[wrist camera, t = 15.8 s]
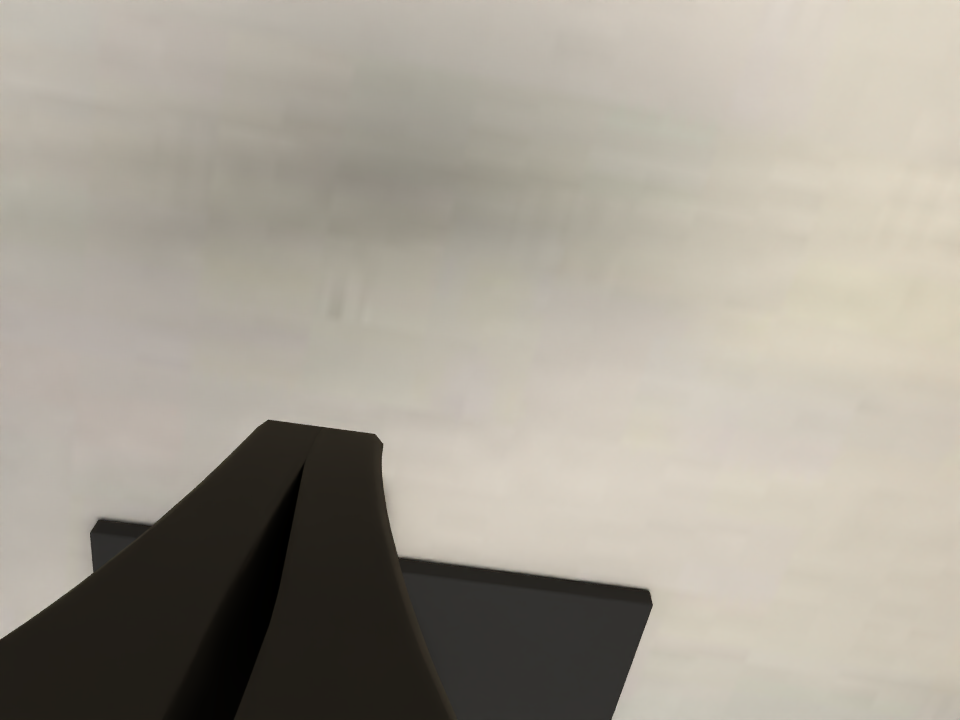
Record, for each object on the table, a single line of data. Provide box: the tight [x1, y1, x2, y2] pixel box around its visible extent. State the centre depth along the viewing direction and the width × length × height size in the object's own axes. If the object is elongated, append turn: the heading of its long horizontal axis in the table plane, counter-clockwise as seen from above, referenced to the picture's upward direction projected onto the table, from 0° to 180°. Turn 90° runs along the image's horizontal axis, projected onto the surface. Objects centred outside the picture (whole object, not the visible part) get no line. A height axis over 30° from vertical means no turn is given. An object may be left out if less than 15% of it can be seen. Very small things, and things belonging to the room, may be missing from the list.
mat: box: [90, 520, 653, 720], centre depth 26 cm, size 16×11×1 cm
